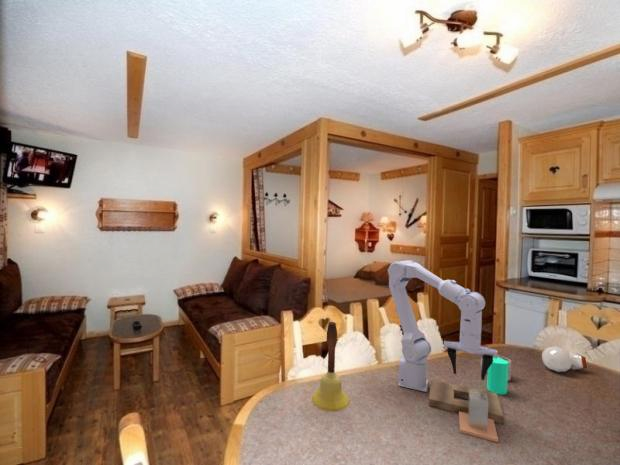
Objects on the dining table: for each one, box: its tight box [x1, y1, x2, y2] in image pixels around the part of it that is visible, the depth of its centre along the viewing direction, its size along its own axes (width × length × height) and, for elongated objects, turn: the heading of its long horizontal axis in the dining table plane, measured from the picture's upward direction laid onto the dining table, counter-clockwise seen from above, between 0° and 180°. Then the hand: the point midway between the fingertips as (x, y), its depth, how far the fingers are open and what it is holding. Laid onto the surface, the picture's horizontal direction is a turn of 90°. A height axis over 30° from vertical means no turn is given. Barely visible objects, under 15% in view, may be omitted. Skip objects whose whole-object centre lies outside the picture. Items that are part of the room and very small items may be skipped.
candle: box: [486, 355, 508, 396], centre depth 106 cm, size 6×6×12 cm
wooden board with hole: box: [428, 379, 505, 425], centre depth 98 cm, size 20×13×2 cm, turn 66°
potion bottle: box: [541, 345, 588, 373], centre depth 122 cm, size 9×10×15 cm
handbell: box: [311, 321, 351, 412], centre depth 98 cm, size 12×12×25 cm
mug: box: [480, 354, 512, 382], centre depth 117 cm, size 10×7×7 cm
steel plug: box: [467, 390, 488, 431], centre depth 87 cm, size 4×4×8 cm
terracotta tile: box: [458, 411, 499, 443], centre depth 86 cm, size 9×9×1 cm
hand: (468, 375), depth 95 cm, fingers open, 7 cm apart
